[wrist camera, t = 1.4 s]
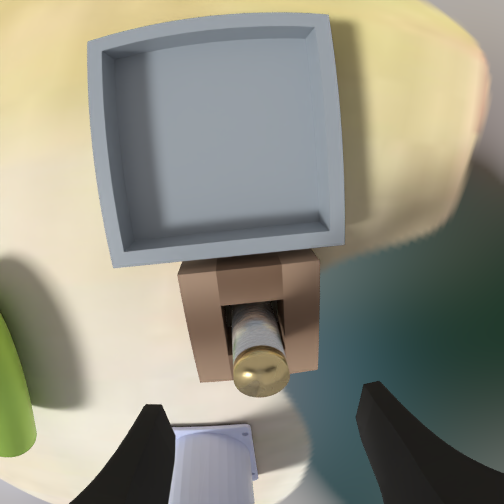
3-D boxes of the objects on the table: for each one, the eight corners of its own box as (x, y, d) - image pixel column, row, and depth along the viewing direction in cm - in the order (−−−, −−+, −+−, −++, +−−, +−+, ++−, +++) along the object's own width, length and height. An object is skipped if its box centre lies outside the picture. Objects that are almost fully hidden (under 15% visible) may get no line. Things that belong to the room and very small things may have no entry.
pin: (271, 317, 20) (290, 393, 13) (233, 321, 20) (236, 399, 13) (269, 282, 19) (289, 353, 12) (228, 286, 19) (230, 359, 12)
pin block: (306, 341, 21) (317, 369, 18) (202, 353, 20) (200, 382, 18) (305, 242, 18) (319, 260, 16) (184, 254, 18) (177, 275, 15)
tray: (330, 231, 18) (344, 244, 16) (126, 252, 18) (113, 268, 15) (315, 29, 14) (328, 14, 12) (104, 52, 14) (87, 41, 12)
